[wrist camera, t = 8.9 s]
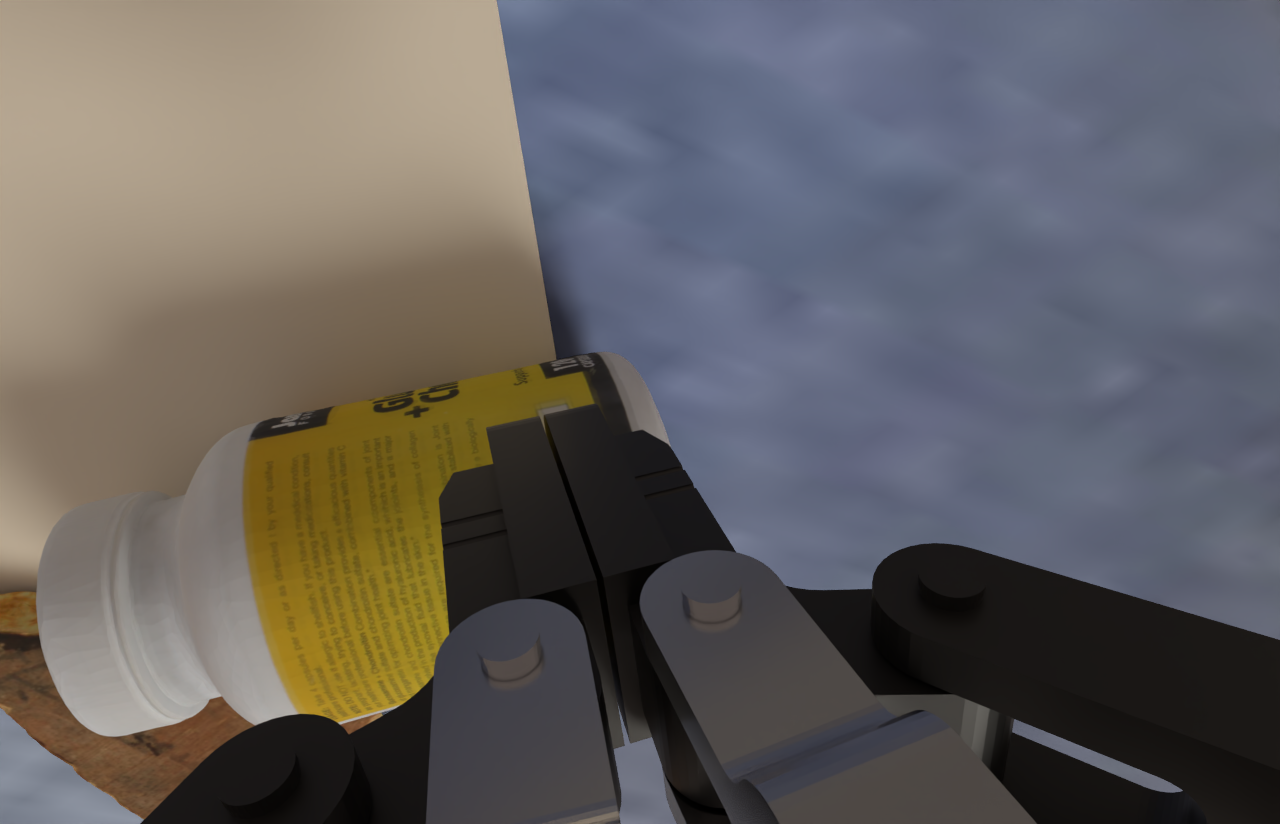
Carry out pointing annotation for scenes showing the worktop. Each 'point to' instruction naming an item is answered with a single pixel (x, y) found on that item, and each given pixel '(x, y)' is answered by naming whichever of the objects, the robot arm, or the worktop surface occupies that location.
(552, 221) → the worktop surface
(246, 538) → the pill bottle
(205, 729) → the shard
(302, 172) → the mat
